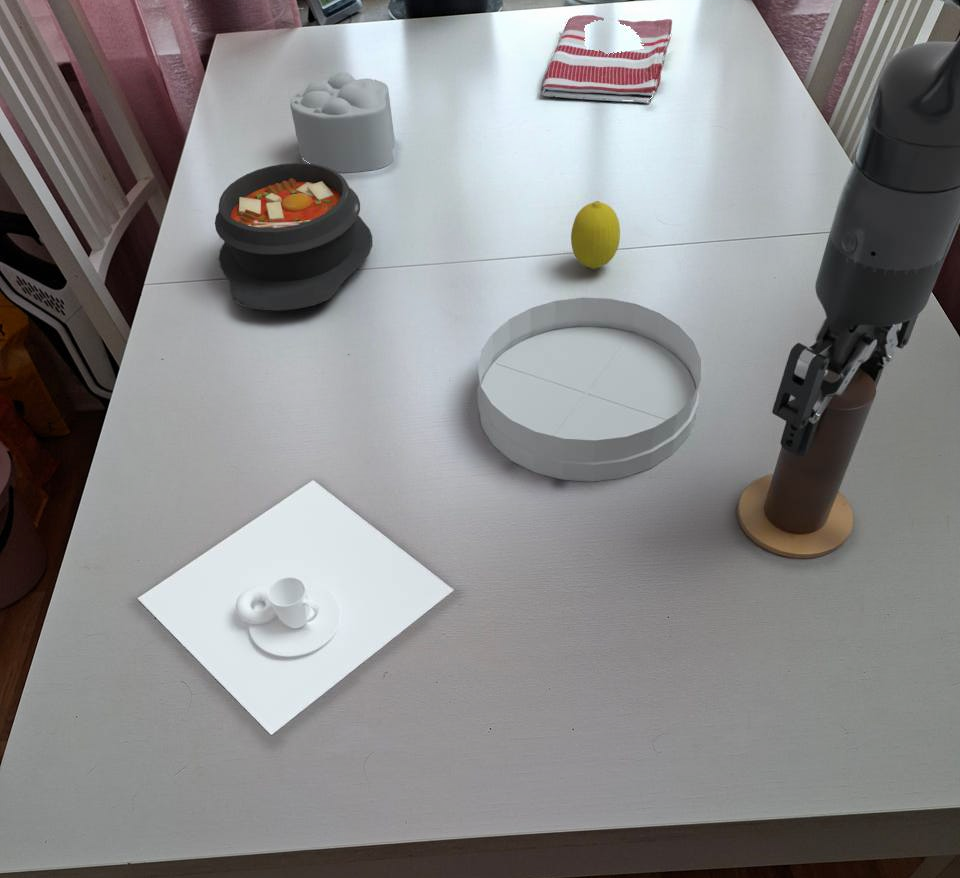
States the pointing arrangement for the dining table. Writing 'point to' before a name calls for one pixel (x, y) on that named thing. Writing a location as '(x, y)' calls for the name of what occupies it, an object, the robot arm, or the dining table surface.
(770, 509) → the brown cylinder
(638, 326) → the dish
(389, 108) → the lumpy-topped squat cylinder
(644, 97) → the dish towel
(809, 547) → the coaster
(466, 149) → the dining table surface
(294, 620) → the teacup and saucer
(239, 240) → the casserole
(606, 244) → the lemon
